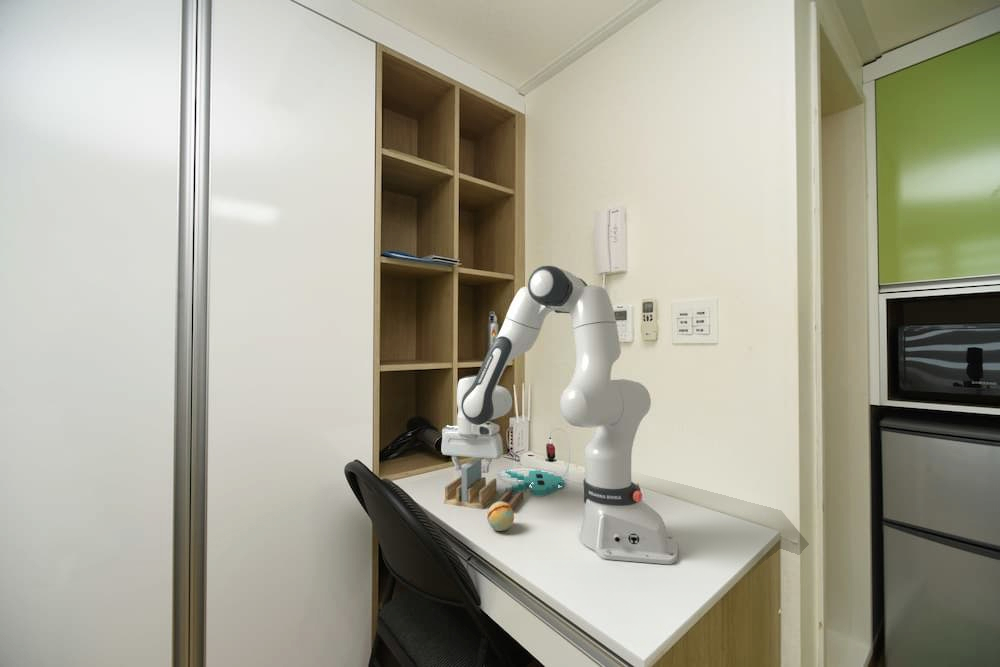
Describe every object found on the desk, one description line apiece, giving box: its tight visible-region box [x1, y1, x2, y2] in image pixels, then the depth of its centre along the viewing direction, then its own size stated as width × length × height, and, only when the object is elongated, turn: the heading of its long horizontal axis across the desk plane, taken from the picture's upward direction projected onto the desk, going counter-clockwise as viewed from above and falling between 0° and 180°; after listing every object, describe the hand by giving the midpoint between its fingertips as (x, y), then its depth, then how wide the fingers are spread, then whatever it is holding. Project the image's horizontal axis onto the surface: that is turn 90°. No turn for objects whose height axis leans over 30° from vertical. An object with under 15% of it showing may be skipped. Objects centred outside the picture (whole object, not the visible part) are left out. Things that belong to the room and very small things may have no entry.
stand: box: [496, 488, 525, 512], centre depth 116 cm, size 5×12×2 cm, turn 159°
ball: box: [486, 501, 515, 532], centre depth 100 cm, size 7×7×7 cm
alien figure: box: [504, 469, 565, 496], centre depth 133 cm, size 20×2×20 cm
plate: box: [460, 458, 483, 502], centre depth 121 cm, size 2×11×10 cm, turn 159°
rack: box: [443, 475, 499, 510], centre depth 121 cm, size 13×12×5 cm
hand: (471, 470), depth 120 cm, fingers open, 8 cm apart
